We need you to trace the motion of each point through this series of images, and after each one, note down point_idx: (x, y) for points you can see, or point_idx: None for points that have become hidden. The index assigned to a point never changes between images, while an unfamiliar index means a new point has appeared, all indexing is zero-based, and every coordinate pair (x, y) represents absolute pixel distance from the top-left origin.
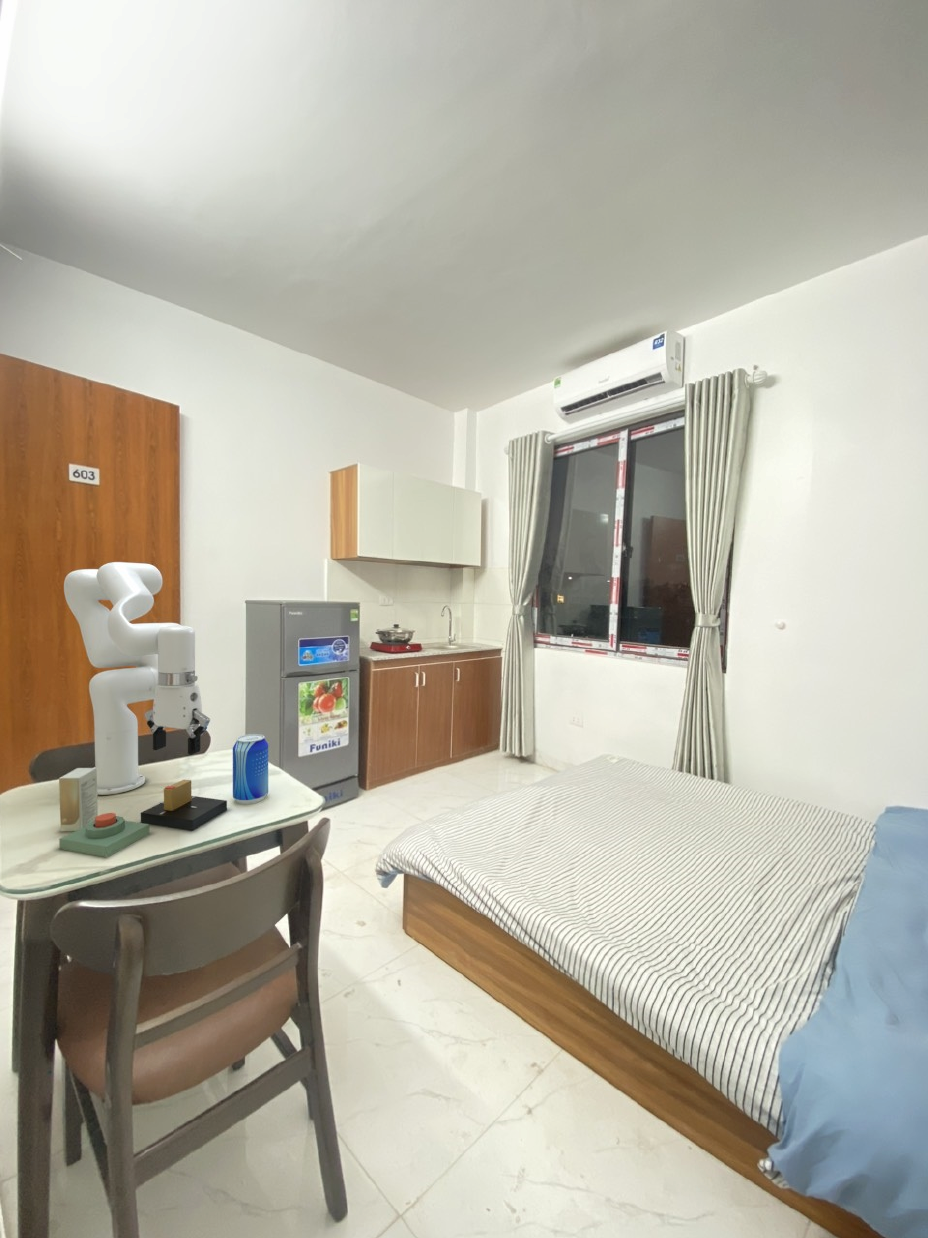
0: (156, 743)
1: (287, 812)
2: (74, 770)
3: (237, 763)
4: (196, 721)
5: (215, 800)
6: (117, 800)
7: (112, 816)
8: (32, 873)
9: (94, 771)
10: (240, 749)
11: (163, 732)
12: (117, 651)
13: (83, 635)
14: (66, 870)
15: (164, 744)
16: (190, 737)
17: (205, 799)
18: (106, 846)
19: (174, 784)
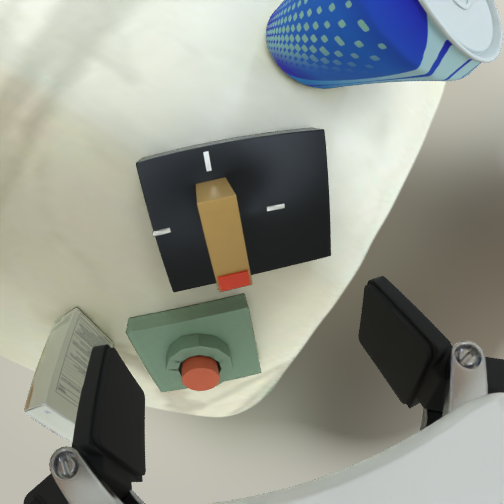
0: (142, 423)
1: (428, 96)
2: (38, 421)
3: (390, 79)
4: (480, 437)
5: (293, 142)
6: (6, 235)
7: (213, 375)
8: (208, 405)
9: (54, 404)
10: (450, 76)
11: (113, 449)
12: None
13: None
14: (239, 389)
15: (115, 365)
16: (418, 399)
17: (258, 150)
18: (260, 372)
19: (216, 254)
